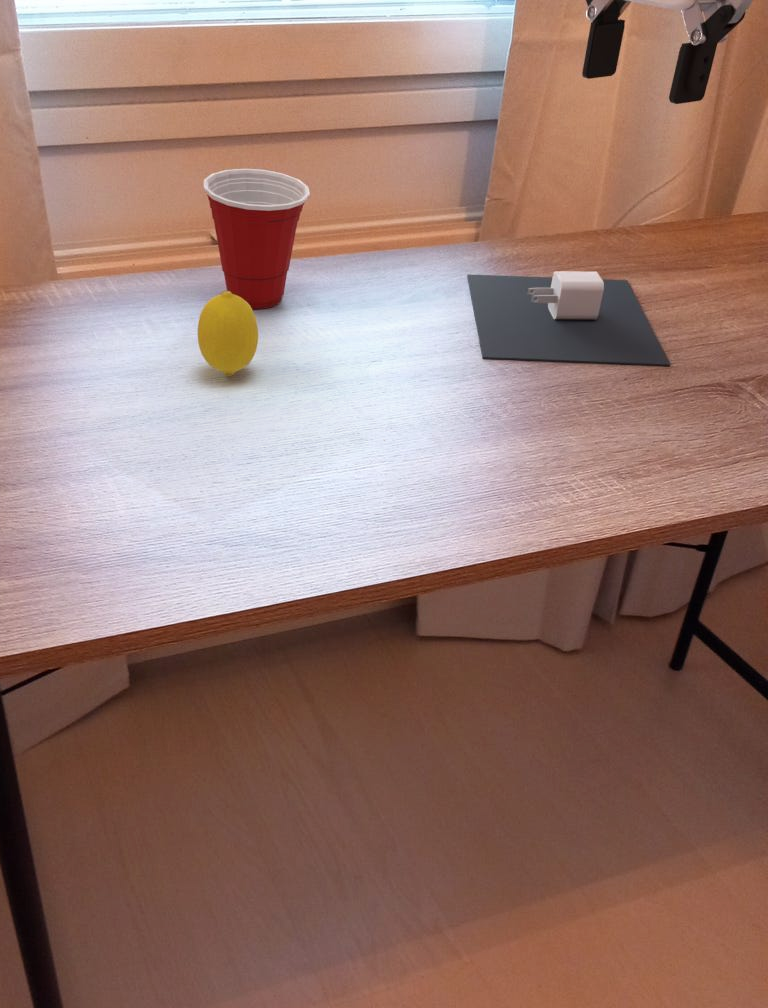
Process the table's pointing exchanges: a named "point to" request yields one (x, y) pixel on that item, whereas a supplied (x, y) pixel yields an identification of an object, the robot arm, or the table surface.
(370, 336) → the table surface
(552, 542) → the table surface
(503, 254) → the table surface
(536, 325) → the mat
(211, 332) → the lemon
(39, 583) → the table surface
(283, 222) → the plastic cup
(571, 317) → the usb wall charger
